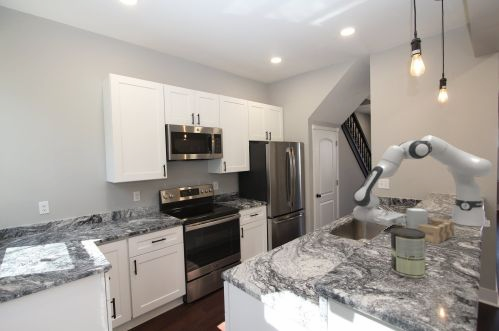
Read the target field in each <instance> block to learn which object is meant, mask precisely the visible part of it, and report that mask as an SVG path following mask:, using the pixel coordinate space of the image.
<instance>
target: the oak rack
mask: <svg viewBox="0 0 499 331" xmlns="http://www.w3.org/2000/svg"><path fill="white" fill-rule="evenodd" d="M454 225H455V223H454V221H449V220H448V219H447V220H446V219H439V218H434V219H431V225H430V224H428V225H425V224H420V225H418V230H421V231H423V232H425V233H426V236H425V242H427V243H433V244H437V245H439V244H441V243H443V242H444V241H446V240H448V239H450V238H452V237H453V236H454V235H455V233H454V232H455V231H454ZM442 241H443V242H442Z"/></svg>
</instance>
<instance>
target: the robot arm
mask: <svg viewBox="0 0 499 331" xmlns="http://www.w3.org/2000/svg"><path fill="white" fill-rule="evenodd" d="M428 156H430V157H431V158H433V159H434V160H436V161H438V162H439V163H441V164H443V165H444V166H446V170H447V171H448V172H449V173H450V174H451V176H452V178H453V181H454V184H455V200H454V204H455V206H453V207H452V210H451V218H449V219H448V221H454V224H456V225H460V226H467V227H479V228H480V227H482V228H483V227H487V228H488V227H489V228H491V221H490V220H489V219H488V218H487V217H486V211H485V210H484V208H483V201H482V187H481V185H479V184H478V183H477V181H476V179H475V178H481V177H486V176H488V175H490V174H491V172H492V171H493V164H492V162H491V161H490V160H488V159H487V158H483V157H479V156H476V155H474V154H472V153H469V152H467V151H464V150H462V149H460V148H457V147H455V146H454V145H452V144H450V143H449V142H447V141H446V140H444V139H442V138H440V137H437V136H434V135H431V134H429V135H425V136H423V137H422V138H421V139H420V140H409V141H404V142H402V143H400V144H399V145H397V144H395V145H389V146H388V147H387V148H386V150H385V151H384V152H383V154H382V156H381V157H380V159H379V161H378V162H377V164H376V166H375V167H373V168H372V169H371V170H370V172H369V173H368V175H367V176H366V177H365V179H364V181H363V182H362V184H361V185H360V186H359V188H358V189H356V190H355V191H354V193H353V195H352V201H353V203H354V204H355V205H356V206H354V208H353V211H352V214H353V216H354V218H355V219H356V220H357V221H360V222H363V223H368V224H370V223H372V224H374V225H378V226H386V227H390V226H392V225H395V224H407V218H406V215H405V214H404V213H401V212H396V211H391V210H389V209H379V206H380V204H381V200H380V197H379V196H378V195H376V194H375V193H372V191H373V189H374V187H375V186H376V184H378V182H379V180H381V179H384V178H390V177H393V176H394V175H395V174H396V173H397V172H398V170H399V168H400V167H401V164H402V162H403V161H404V160H422V159H424V158H426V157H428Z"/></svg>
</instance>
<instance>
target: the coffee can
mask: <svg viewBox="0 0 499 331" xmlns="http://www.w3.org/2000/svg"><path fill="white" fill-rule="evenodd" d="M425 236H426V233H425V232H423V231H421V230H417V229H412V228H407V227H392V228H390V247H391V248H390V255H391V263H390V264H391V267H390V269H391V271H392V272H393V273H395V274H397V275H399V276H402V277H404V278H405V277H406V278H411V279H423V278H425V277H426V276H427V273H426V241H425Z"/></svg>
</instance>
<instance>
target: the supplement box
mask: <svg viewBox="0 0 499 331" xmlns="http://www.w3.org/2000/svg"><path fill="white" fill-rule="evenodd" d="M428 216H429V215H428V210H426V209H423V208H415V207H414V208H413V207H412V208H409V207H408V208H406V219H407V223H406V228H412V229H417V230H418V225H420V224H425V225H429V223H428V222H429V218H428Z"/></svg>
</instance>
